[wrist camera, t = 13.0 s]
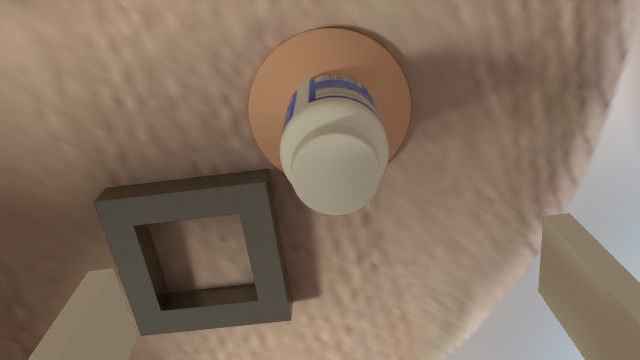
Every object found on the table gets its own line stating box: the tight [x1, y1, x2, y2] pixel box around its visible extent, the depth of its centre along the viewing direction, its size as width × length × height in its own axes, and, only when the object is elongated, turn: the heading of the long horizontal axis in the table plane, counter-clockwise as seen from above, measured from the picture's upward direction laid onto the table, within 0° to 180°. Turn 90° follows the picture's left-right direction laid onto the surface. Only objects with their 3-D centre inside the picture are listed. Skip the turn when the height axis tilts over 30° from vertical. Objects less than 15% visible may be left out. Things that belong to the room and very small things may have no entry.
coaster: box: [248, 27, 411, 173], centre depth 31 cm, size 10×10×1 cm
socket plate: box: [94, 169, 292, 336], centre depth 35 cm, size 11×11×2 cm
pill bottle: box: [280, 72, 389, 215], centre depth 26 cm, size 5×5×10 cm
